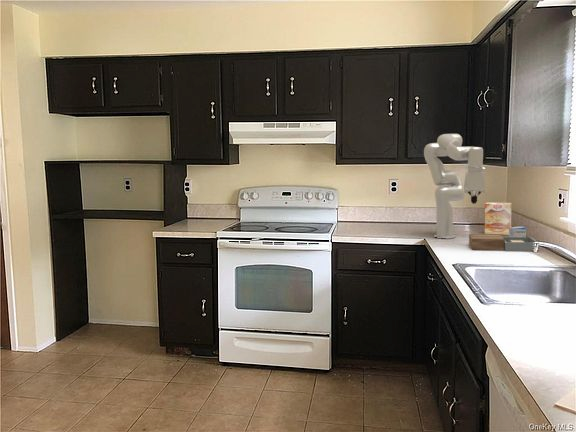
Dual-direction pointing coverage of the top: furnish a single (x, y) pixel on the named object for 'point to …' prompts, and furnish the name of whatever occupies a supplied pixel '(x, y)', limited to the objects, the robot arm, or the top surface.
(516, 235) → the medicine box
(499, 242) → the walnut riser
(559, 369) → the top surface
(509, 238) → the bin
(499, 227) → the coffeecake box
